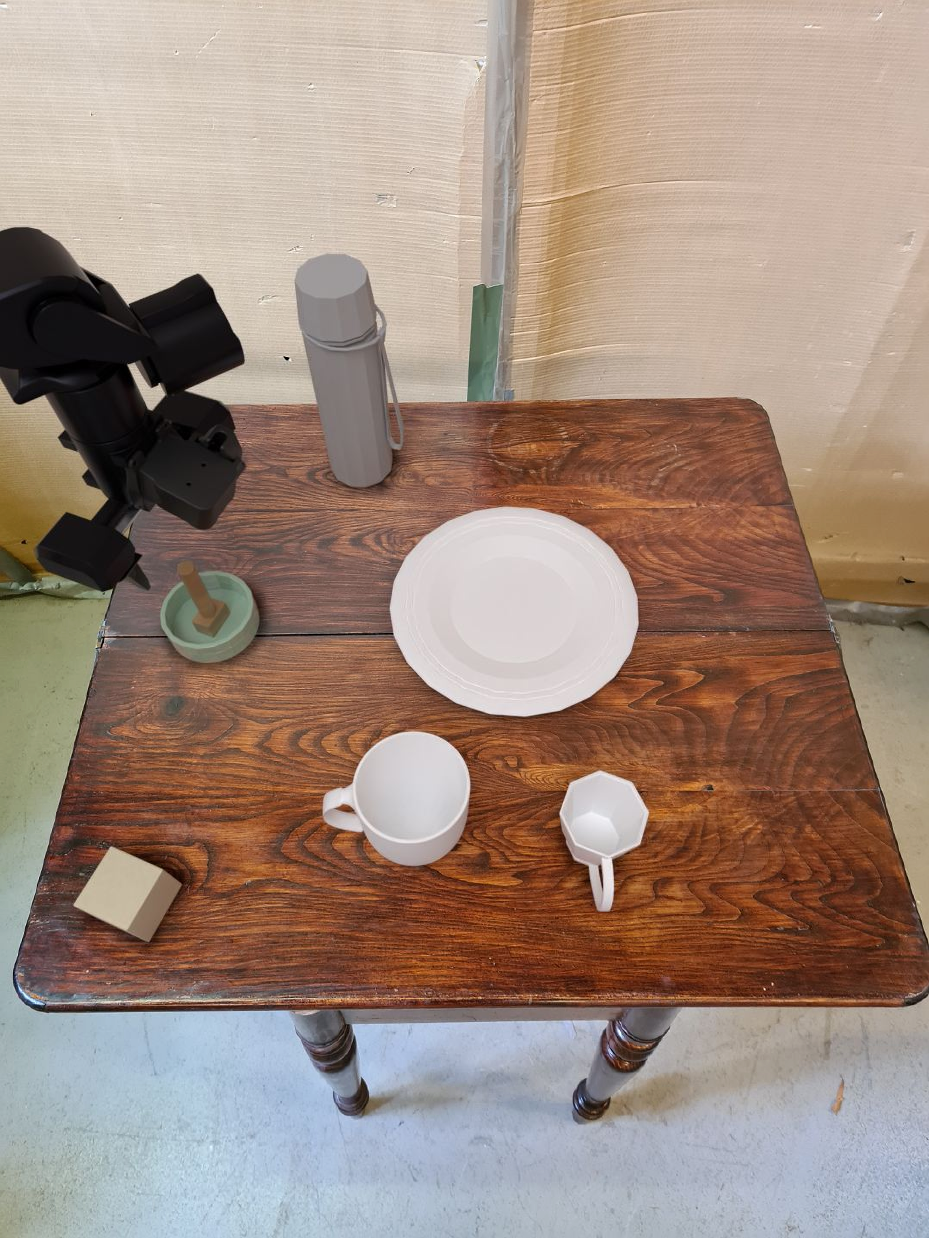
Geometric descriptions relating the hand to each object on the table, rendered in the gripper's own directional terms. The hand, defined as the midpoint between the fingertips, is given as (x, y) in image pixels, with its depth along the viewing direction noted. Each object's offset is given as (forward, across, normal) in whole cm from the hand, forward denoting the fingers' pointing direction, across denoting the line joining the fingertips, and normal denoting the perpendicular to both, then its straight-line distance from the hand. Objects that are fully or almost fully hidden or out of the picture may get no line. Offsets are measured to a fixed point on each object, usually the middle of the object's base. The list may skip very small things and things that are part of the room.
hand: (174, 547), depth 70 cm
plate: (+13, +13, -28) cm, 33 cm away
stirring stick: (+12, 0, 0) cm, 13 cm away
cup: (+13, -8, -43) cm, 45 cm away
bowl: (+13, 0, 0) cm, 13 cm away
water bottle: (+13, +25, -6) cm, 29 cm away
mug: (+13, -12, -27) cm, 32 cm away
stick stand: (+13, -26, -8) cm, 30 cm away
